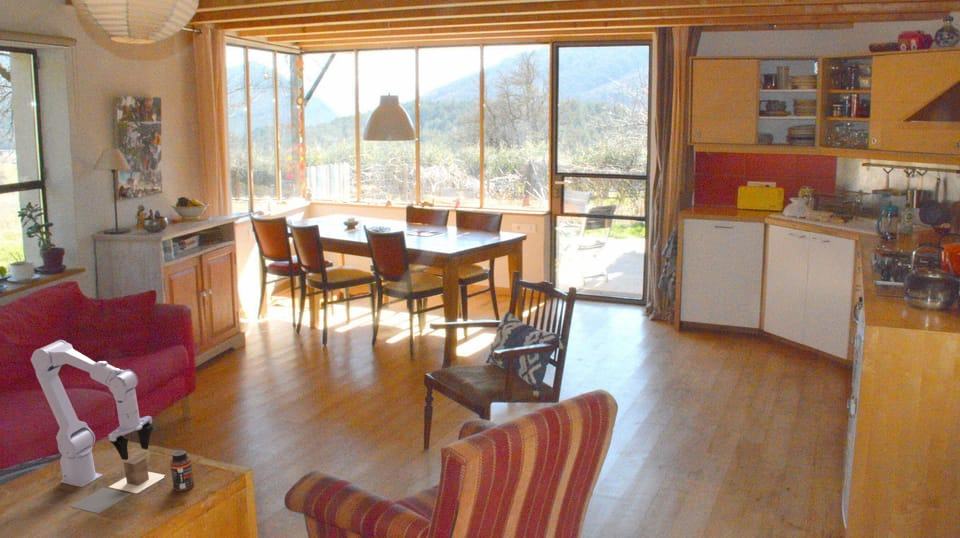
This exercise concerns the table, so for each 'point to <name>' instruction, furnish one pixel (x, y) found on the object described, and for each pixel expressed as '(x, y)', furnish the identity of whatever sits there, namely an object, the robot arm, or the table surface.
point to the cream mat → (134, 488)
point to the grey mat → (100, 500)
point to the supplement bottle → (181, 471)
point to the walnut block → (136, 470)
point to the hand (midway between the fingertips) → (135, 453)
